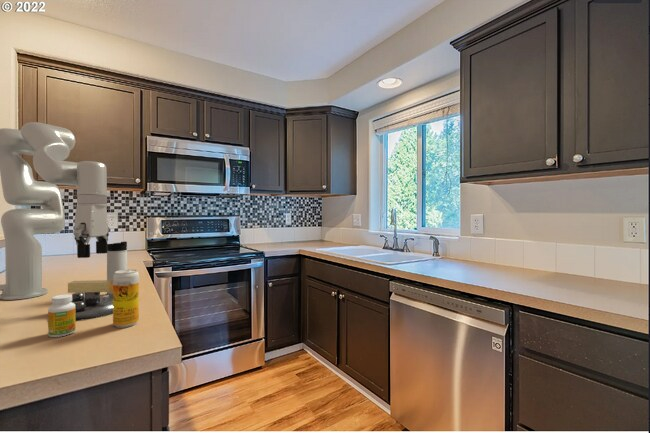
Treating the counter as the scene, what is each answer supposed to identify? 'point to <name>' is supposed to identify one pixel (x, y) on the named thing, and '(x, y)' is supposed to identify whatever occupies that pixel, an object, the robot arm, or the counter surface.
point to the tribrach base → (92, 307)
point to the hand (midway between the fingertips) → (93, 255)
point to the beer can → (125, 298)
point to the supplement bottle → (61, 316)
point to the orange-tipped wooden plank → (91, 289)
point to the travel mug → (116, 259)
